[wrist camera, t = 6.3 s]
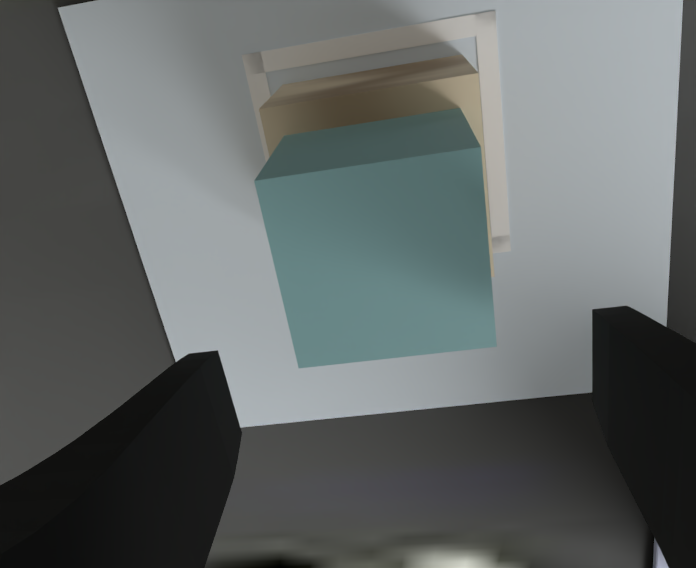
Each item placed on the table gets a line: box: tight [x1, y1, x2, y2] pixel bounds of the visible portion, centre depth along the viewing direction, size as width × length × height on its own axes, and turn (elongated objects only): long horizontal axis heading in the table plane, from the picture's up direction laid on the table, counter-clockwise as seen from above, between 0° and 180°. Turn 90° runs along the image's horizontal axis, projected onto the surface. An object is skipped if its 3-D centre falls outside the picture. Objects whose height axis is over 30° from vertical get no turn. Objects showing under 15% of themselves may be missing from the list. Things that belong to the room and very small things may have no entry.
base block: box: [259, 54, 494, 277], centre depth 19 cm, size 6×6×4 cm
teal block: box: [254, 108, 497, 368], centre depth 15 cm, size 4×4×4 cm
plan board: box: [58, 0, 683, 427], centre depth 22 cm, size 18×16×1 cm
